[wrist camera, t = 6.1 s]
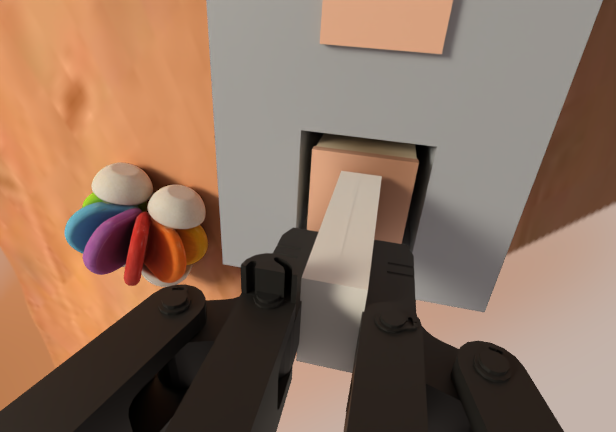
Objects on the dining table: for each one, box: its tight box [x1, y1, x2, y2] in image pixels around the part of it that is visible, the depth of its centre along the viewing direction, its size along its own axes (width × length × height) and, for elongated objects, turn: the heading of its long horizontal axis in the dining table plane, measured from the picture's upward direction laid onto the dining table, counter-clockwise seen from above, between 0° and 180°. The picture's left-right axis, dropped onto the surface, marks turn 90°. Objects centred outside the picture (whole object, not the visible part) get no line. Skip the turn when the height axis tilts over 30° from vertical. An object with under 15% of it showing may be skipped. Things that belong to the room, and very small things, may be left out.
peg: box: [307, 133, 419, 244], centre depth 19 cm, size 4×4×9 cm
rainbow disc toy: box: [65, 163, 208, 287], centre depth 28 cm, size 8×10×7 cm
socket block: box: [206, 0, 603, 312], centre depth 18 cm, size 12×16×10 cm
